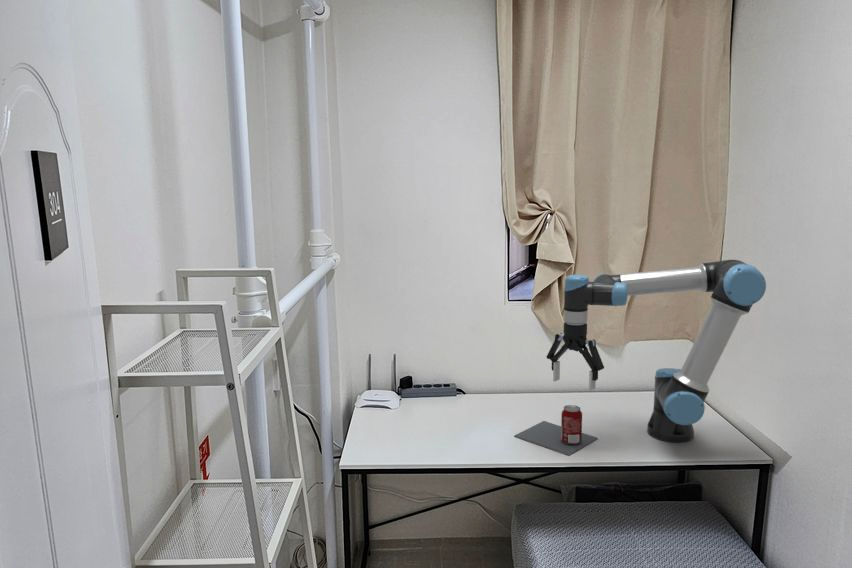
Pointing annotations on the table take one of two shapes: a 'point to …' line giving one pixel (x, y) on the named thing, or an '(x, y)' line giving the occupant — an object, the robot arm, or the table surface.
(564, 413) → the soda can
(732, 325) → the robot arm
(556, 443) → the rubber mat
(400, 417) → the table surface
